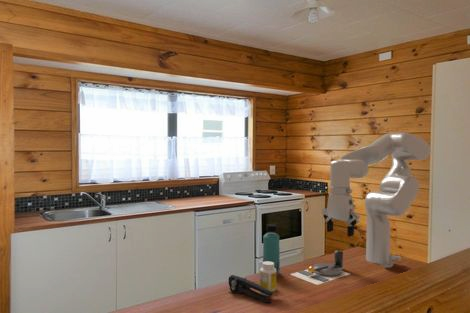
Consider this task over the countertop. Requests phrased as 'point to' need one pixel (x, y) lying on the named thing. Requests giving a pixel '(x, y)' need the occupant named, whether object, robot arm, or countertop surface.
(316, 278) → the stand
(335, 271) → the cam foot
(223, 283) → the countertop surface
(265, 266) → the supplement bottle
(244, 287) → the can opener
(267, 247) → the beverage bottle
